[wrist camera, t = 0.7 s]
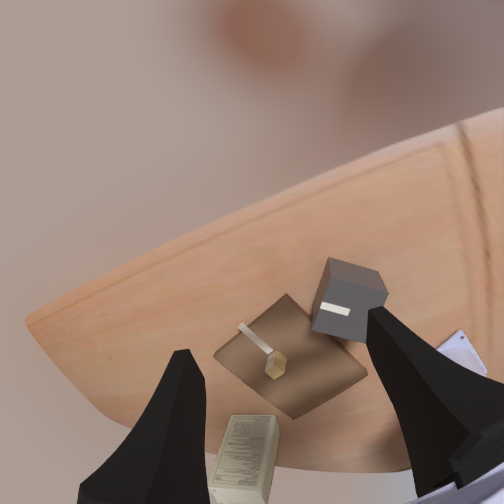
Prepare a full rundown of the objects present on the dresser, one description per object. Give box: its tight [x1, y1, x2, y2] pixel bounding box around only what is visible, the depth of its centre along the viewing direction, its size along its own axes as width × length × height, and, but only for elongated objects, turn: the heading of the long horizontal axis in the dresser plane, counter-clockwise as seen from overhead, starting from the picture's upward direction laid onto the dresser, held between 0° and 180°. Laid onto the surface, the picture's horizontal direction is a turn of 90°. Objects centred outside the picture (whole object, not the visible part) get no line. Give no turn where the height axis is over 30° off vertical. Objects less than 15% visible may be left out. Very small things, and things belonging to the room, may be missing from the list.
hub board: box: [213, 294, 368, 420], centre depth 30 cm, size 14×11×4 cm
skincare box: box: [207, 415, 280, 504], centre depth 31 cm, size 6×4×12 cm
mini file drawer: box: [312, 257, 389, 344], centre depth 26 cm, size 5×5×5 cm
